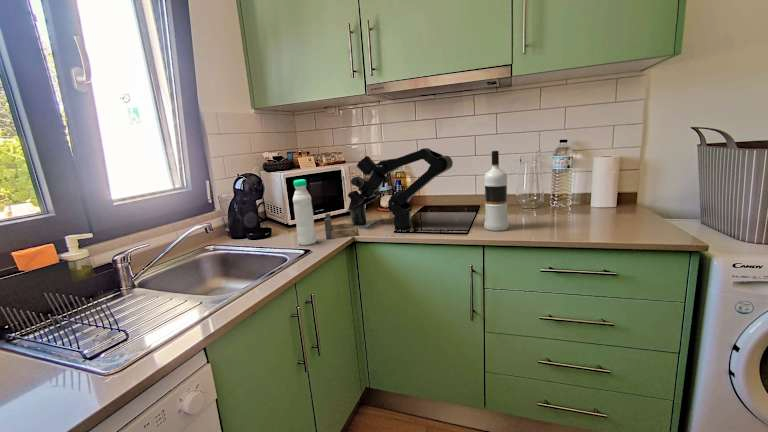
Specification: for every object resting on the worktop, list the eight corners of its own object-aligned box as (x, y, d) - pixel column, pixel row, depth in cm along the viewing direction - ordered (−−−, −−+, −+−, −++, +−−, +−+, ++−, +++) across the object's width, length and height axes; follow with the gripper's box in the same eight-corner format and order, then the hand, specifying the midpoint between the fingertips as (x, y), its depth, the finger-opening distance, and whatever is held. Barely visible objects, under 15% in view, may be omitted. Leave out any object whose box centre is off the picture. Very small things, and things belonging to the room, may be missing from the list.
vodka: (481, 231, 144) (479, 152, 138) (487, 225, 152) (485, 150, 145) (506, 232, 139) (505, 150, 133) (511, 226, 147) (510, 149, 141)
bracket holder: (356, 228, 164) (354, 210, 162) (357, 236, 151) (355, 216, 150) (327, 231, 163) (325, 213, 161) (326, 239, 150) (324, 219, 149)
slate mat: (375, 221, 174) (375, 220, 174) (367, 228, 163) (367, 227, 163) (351, 221, 178) (351, 221, 178) (342, 228, 167) (342, 227, 167)
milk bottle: (308, 246, 142) (299, 181, 137) (294, 244, 146) (286, 181, 140) (320, 241, 148) (312, 178, 143) (307, 240, 151) (299, 178, 146)
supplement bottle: (369, 223, 169) (366, 197, 166) (355, 226, 166) (352, 200, 163) (362, 221, 175) (360, 196, 172) (349, 224, 172) (346, 198, 169)
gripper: (372, 167, 171) (354, 191, 179) (349, 172, 156) (331, 198, 163) (388, 184, 169) (370, 208, 177) (367, 191, 153) (347, 216, 161)
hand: (355, 207), depth 170 cm, fingers open, 9 cm apart
